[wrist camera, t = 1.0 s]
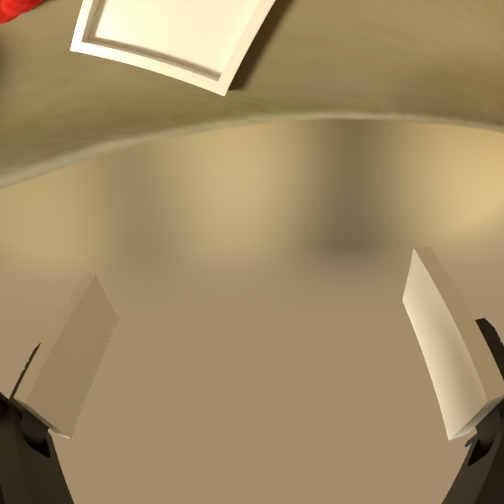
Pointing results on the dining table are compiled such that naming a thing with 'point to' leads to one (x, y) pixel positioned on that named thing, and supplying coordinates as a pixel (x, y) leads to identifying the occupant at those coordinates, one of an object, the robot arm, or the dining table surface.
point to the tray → (173, 36)
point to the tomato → (15, 8)
